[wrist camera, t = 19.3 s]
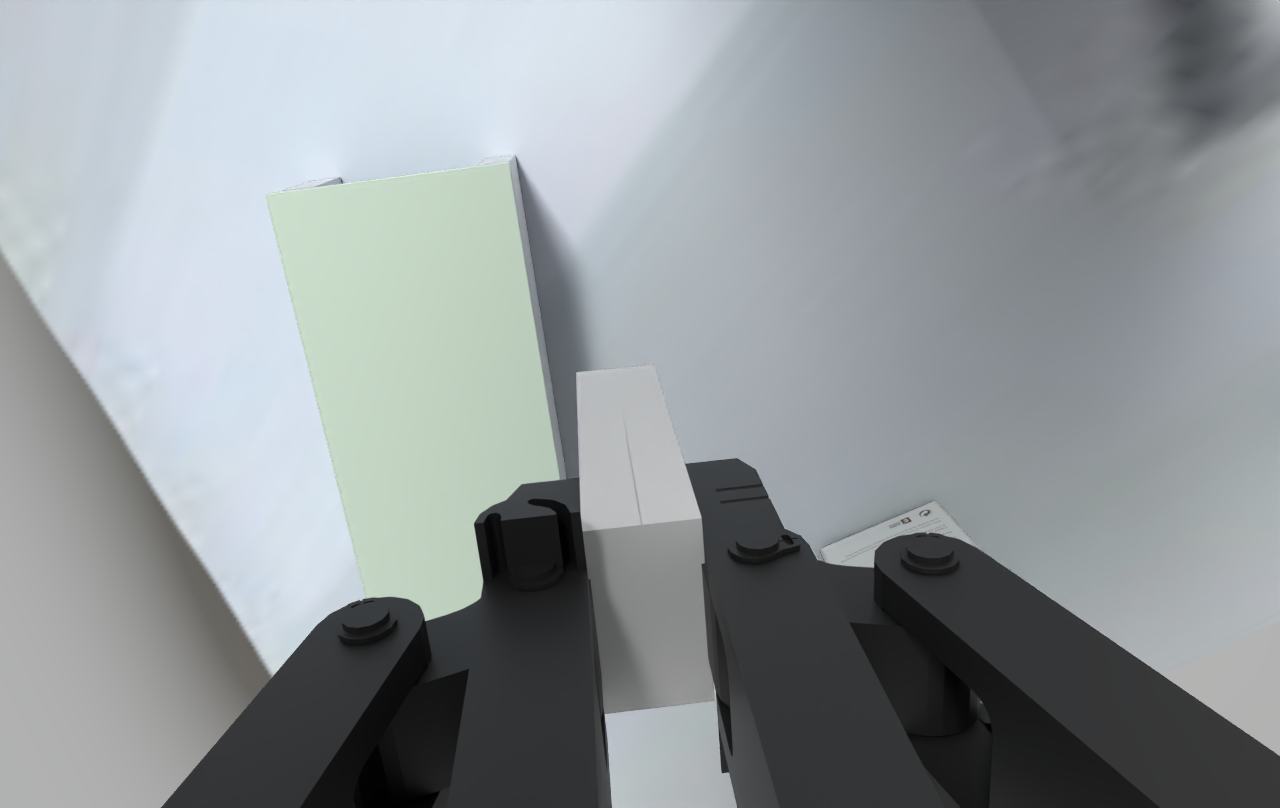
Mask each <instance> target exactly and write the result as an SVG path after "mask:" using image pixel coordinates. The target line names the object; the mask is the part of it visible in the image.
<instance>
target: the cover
mask: <svg viewBox="0 0 1280 808" xmlns="http://www.w3.org/2000/svg"><path fill="white" fill-rule="evenodd" d="M265 196H266V200H267V204H268V208H269V212H270V216H271V220H272V224H273V228H274V232H275V236H276V240H277V244H278V248H279V252H280V256H281V260H282V264H283V268H284V272H285V276H286V280H287V284H288V288H289V292H290V296H291V300H292V304H293V308H294V312H295V316H296V320H297V324H298V328H299V332H300V336H301V340H302V344H303V348H304V352H305V356H306V360H307V364H308V368H309V372H310V376H311V380H312V384H313V388H314V393H315V397H316V401H317V405H318V409H319V413H320V417H321V421H322V425H323V429H324V433H325V437H326V441H327V445H328V449H329V453H330V457H331V461H332V465H333V469H334V473H335V477H336V481H337V485H338V489H339V493H340V497H341V501H342V505H343V509H344V513H345V517H346V521H347V525H348V529H349V533H350V537H351V541H352V545H353V549H354V553H355V557H356V561H357V565H358V569H359V573H360V577H361V581H362V585H363V589H364V593H365V597H366V599H367V598H372V597H376V598H380V597H398V598H405V599H409V600H411V601H413V602H414V603H416V604H418V605H420V607H421V609H422V612H423V614H424V617H425V621H428V620H431V619H434V618H438V617H441V616H444V615H447V614H450V613H453V612H456V611H458V610H461V609H463V608H465V607H467V606H469V605H471V604H473V603H474V602H476V601H477V600H479V599H480V598H481V593H482V587H483V577H482V571H481V565H480V559H479V553H478V547H477V540H476V534H475V528H474V522H475V521H476V519H477V517H478V516H479V514H480V513H482V512H483V511H485V510H486V509H488V508H489V507H491V506H492V505H495V504H497V503H500V502H503V501H505V500H507V499H508V498H509V497H510V496H511V495H512V493H513V492H514V491H515V490H516V489H517V488H518V487H519V486H520V485H521V484H527V483H536V482H545V481H555V480H560V474H559V468H558V462H557V456H556V450H555V444H554V437H553V431H552V425H551V419H550V413H549V406H548V400H547V394H546V388H545V382H544V376H543V369H542V363H541V357H540V351H539V345H538V338H537V332H536V326H535V320H534V314H533V308H532V301H531V295H530V289H529V283H528V277H527V271H526V264H525V258H524V252H523V246H522V240H521V233H520V227H519V221H518V215H517V209H516V203H515V196H514V190H513V184H512V178H511V172H510V165H509V162H503V163H496V164H488V165H480V166H473V167H465V168H458V169H450V170H442V171H435V172H427V173H420V174H412V175H404V176H397V177H389V178H382V179H374V180H367V181H359V182H351V183H344V184H336V185H329V186H321V187H313V188H306V189H298V190H291V191H283V192H275V193H270V194H267V195H265Z"/></svg>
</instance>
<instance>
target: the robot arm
mask: <svg viewBox="0 0 1280 808" xmlns="http://www.w3.org/2000/svg"><path fill="white" fill-rule="evenodd" d="M576 385H577V416H578V447H579V478H573V479H564V480H555V481H545V482H536V483H527V484H521V485H520V486H519V487H518V488H517V489H516V490H515V491H514V492H513V493H512V495H511V496H510V497H509V498H508V499H507V500H505V501H503V502H500V503H497V504H495V505H492V506H491V507H489V508H488V509H486V510H485V511H483V512H482V513H480V514H479V516H478V517H477V519H476V521H475V522H474V528H475V534H476V540H477V547H478V553H479V559H480V565H481V571H482V577H483V587H482V593H481V598H480V599H479V600H477V601H476V602H474V603H473V604H471V605H469V606H467V607H465V608H463V609H461V610H458V611H456V612H453V613H450V614H447V615H444V616H441V617H438V618H434V619H431V620H428V621H425V617H424V614H423V612H422V609H421V607H420V605H418V604H416V603H414V602H413V601H411V600H409V599H405V598H398V597H380V598H376V597H372V598H367V599H363V601H360V600H359V601H356V602H353V603H350V604H348V605H347V606H345V607H343V608H341V609H339V610H337V611H335V612H333V613H331V614H330V615H328V616H327V617H326V618H325V619H324V620H323V621H321V622H320V623H319V624H318V625H317V626H316V627H315V628H314V629H313V630H312V631H311V633H310V634H309V635H308V636H307V637H306V639H305V640H304V641H303V642H302V643H301V644H300V646H299V647H298V648H297V649H296V650H295V651H294V653H293V654H292V655H291V656H290V657H289V658H288V660H287V661H286V662H285V663H284V664H283V665H282V667H281V668H280V669H279V670H278V671H277V672H276V674H275V675H274V676H273V677H272V678H271V680H270V681H269V682H268V683H267V684H266V686H265V687H264V688H263V689H262V690H261V691H260V692H259V694H258V695H257V696H256V697H255V698H254V700H253V701H252V702H251V703H250V704H249V705H248V706H247V708H246V709H245V710H244V711H243V712H242V713H241V715H240V716H239V717H238V718H237V719H236V721H235V722H234V723H233V724H232V725H231V726H230V728H229V729H228V730H227V731H226V732H225V733H224V735H223V736H222V737H221V738H220V739H219V740H218V742H217V743H216V744H215V745H214V746H213V748H212V749H211V750H210V751H209V752H208V753H207V755H206V756H205V757H204V758H203V759H202V760H201V762H200V763H199V764H198V765H197V766H196V767H195V769H194V770H193V771H192V772H191V773H190V774H189V776H188V777H187V778H186V779H185V781H184V782H183V783H182V784H181V785H180V786H179V787H178V789H177V790H176V791H175V792H174V793H173V795H172V796H171V797H170V798H169V799H168V800H167V801H166V803H165V804H164V805H163V806H162V807H161V808H612V803H611V788H610V773H609V758H608V742H607V733H606V724H605V716H604V714H608V713H616V712H625V711H633V710H641V709H650V708H658V707H666V706H675V705H683V704H691V703H700V702H708V701H714V688H713V680H714V685H715V689H716V698H717V712H718V727H719V742H720V756H721V771H722V773H727V772H729V773H730V778H731V782H732V786H733V791H734V795H735V799H736V803H737V808H1280V756H1279V755H1277V754H1276V753H1274V752H1273V751H1272V750H1270V749H1268V748H1267V747H1266V746H1264V745H1263V744H1261V743H1260V742H1258V741H1257V740H1256V739H1254V738H1253V737H1251V736H1250V735H1248V734H1247V733H1245V732H1244V731H1243V730H1241V729H1240V728H1238V727H1237V726H1235V725H1234V724H1232V723H1231V722H1229V721H1228V720H1227V719H1225V718H1224V717H1222V716H1221V715H1219V714H1218V713H1216V712H1215V711H1213V710H1212V709H1211V708H1209V707H1207V706H1206V705H1204V704H1203V703H1202V702H1200V701H1199V700H1197V699H1196V698H1195V697H1193V696H1192V695H1190V694H1189V693H1187V692H1186V691H1184V690H1183V689H1181V688H1180V687H1178V686H1177V685H1176V684H1174V683H1173V682H1171V681H1170V680H1168V679H1167V678H1165V677H1164V676H1163V675H1161V674H1160V673H1158V672H1157V671H1155V670H1154V669H1152V668H1151V667H1149V666H1148V665H1147V664H1145V663H1144V662H1142V661H1141V660H1139V659H1138V658H1136V657H1135V656H1133V655H1132V654H1131V653H1129V652H1128V651H1126V650H1125V649H1123V648H1122V647H1120V646H1119V645H1117V644H1116V643H1115V642H1113V641H1112V640H1110V639H1109V638H1107V637H1106V636H1104V635H1103V634H1101V633H1100V632H1099V631H1097V630H1096V629H1094V628H1093V627H1091V626H1090V625H1088V624H1087V623H1085V622H1084V621H1082V620H1081V619H1080V618H1078V617H1077V616H1075V615H1074V614H1072V613H1071V612H1069V611H1068V610H1066V609H1065V608H1064V607H1062V606H1061V605H1059V604H1058V603H1056V602H1055V601H1053V600H1052V599H1050V598H1049V597H1048V596H1046V595H1045V594H1043V593H1042V592H1040V591H1039V590H1037V589H1036V588H1034V587H1033V586H1032V585H1030V584H1029V583H1027V582H1026V581H1024V580H1023V579H1021V578H1020V577H1018V576H1017V575H1016V574H1014V573H1013V572H1011V571H1010V570H1008V569H1007V568H1005V567H1004V566H1002V565H1001V564H1000V563H998V562H997V561H995V560H994V559H992V558H991V557H989V556H988V555H986V554H985V553H984V552H982V551H981V550H979V549H978V548H976V547H974V546H972V545H970V544H968V543H966V542H964V541H962V540H960V539H957V538H952V537H948V536H944V535H942V534H939V533H929V534H926V532H921V533H914V534H909V535H902V536H897V537H895V538H892V539H890V540H887V541H885V542H883V543H882V544H881V545H880V546H879V547H878V548H877V549H876V550H875V556H874V568H872V567H856V566H844V565H836V564H830V563H826V562H822V561H818V560H817V559H816V557H815V556H814V554H813V552H812V550H811V548H810V546H809V544H808V543H807V542H806V541H805V540H804V539H803V538H802V537H801V536H800V535H798V534H795V533H793V532H791V531H789V530H786V529H784V527H783V525H782V523H781V521H780V519H779V517H778V515H777V512H776V510H775V508H774V506H773V504H772V502H771V500H770V499H769V497H768V494H767V492H766V490H765V488H764V487H763V484H762V482H761V480H760V478H759V475H758V473H757V471H756V470H755V469H754V468H752V467H751V466H749V465H747V464H746V463H744V462H742V461H741V460H739V459H737V458H735V459H726V460H717V461H708V462H698V463H689V464H685V462H684V459H683V456H682V453H681V450H680V446H679V443H678V440H677V437H676V433H675V430H674V427H673V424H672V420H671V417H670V414H669V411H668V407H667V404H666V401H665V398H664V394H663V391H662V388H661V385H660V382H659V378H658V375H657V372H656V369H655V365H654V364H652V365H642V366H632V367H623V368H613V369H604V370H594V371H584V372H576ZM981 702H982V703H983V704H982V703H981Z"/></svg>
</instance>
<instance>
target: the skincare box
mask: <svg viewBox="0 0 1280 808" xmlns="http://www.w3.org/2000/svg"><path fill="white" fill-rule="evenodd" d="M921 532H926V534H929V533H939V534H942V535H944V536H948V537H952V538H957V539H960V540H962V541H964V542H966V543H968V544H970V545H972V546H974V547H976V548H978V549H979V550H981V549H980V548H979V547H978V546H977V545H976V544H975V543H974V541H973V540H972V539H971V538H970V537H969V536H968V535H967V534H966V533H965V532H964V531H963V530H962V529H961V527H960V526H959V525H958V524H957V523H956V522H955V521H954V520H953V519H952V518H951V517H950V515H949V514H948V513H947V512H946V511H945V510H944V509H943V508H942V506H941V505H940V504H939V503H938V502H937V501H933V502H930V503H928V504H926V505H923V506H921V507H918V508H916V509H914V510H911V511H909V512H906V513H904V514H902V515H899V516H897V517H894V518H892V519H890V520H887V521H884V522H882V523H880V524H878V525H875V526H873V527H870V528H868V529H866V530H863V531H861V532H859V533H856V534H854V535H852V536H849V537H847V538H844V539H842V540H839V541H837V542H835V543H833V544H830V545H828V546H825V547H823V548H822V549H821V554H822V557H823V559H824V562H826V563H830V564H836V565H844V566H856V567H872V568H874V556H875V550H876V549H877V548H878V547H879V546H880V545H881V544H882V543H883V542H885V541H887V540H890V539H892V538H895V537H897V536H902V535H909V534H914V533H921ZM981 551H982V550H981ZM982 552H983V551H982ZM981 703H982V702H981ZM982 704H983V703H982Z"/></svg>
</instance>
